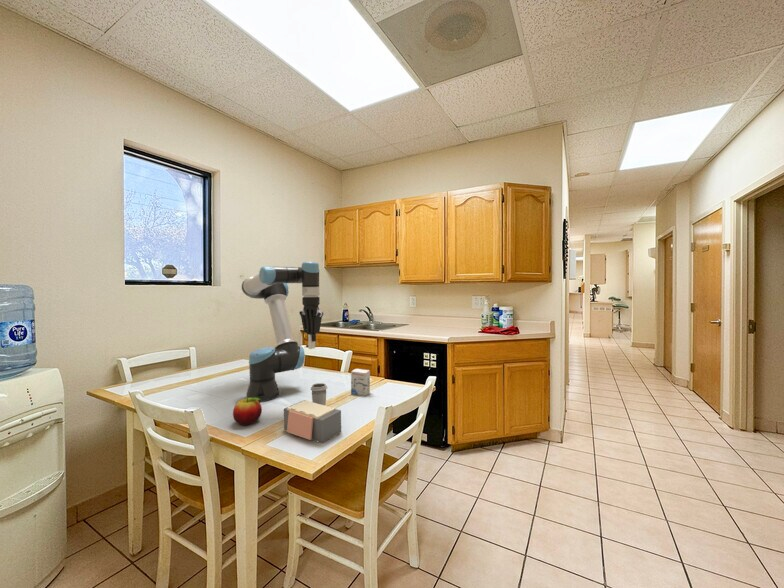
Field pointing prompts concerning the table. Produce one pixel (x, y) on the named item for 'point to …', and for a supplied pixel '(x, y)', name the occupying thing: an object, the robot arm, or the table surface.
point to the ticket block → (317, 419)
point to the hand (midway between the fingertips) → (311, 348)
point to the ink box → (360, 382)
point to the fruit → (247, 411)
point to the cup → (319, 393)
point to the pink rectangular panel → (300, 425)
